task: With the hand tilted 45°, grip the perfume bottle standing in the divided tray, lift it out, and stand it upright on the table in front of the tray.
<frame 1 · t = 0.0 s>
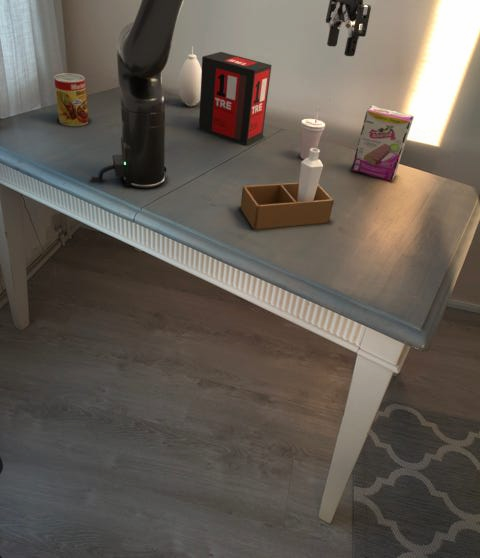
hand: (340, 50, 114), 29 cm above the table, tool pointing down, fingers open, 8 cm apart
canned food: (74, 121, 143), on the table
cleaning product box: (230, 133, 147), on the table
divided tray: (284, 215, 111), on the table
sauce bottle: (190, 106, 163), on the table
perfume bottle: (301, 214, 112), resting in divided tray
smoothie: (306, 157, 138), on the table
candy bar box: (373, 174, 134), on the table
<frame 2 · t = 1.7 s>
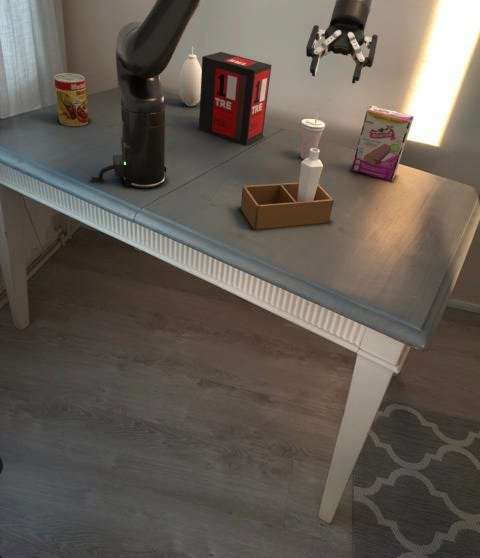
hand: (333, 77, 105), 27 cm above the table, tool tilted 45°, fingers open, 8 cm apart
nothing on the table moved.
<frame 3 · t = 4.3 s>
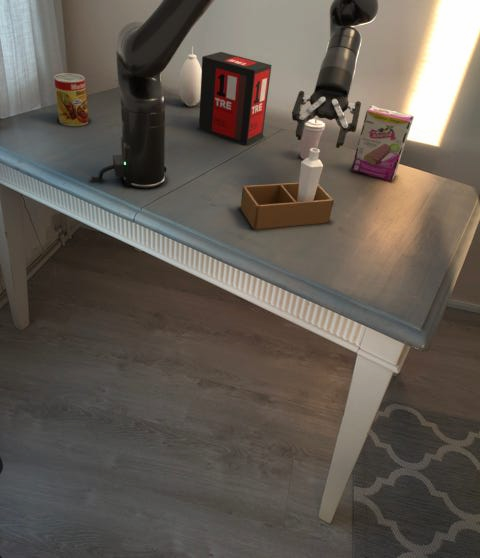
hand: (318, 142, 109), 14 cm above the table, tool tilted 45°, fingers open, 8 cm apart
nothing on the table moved.
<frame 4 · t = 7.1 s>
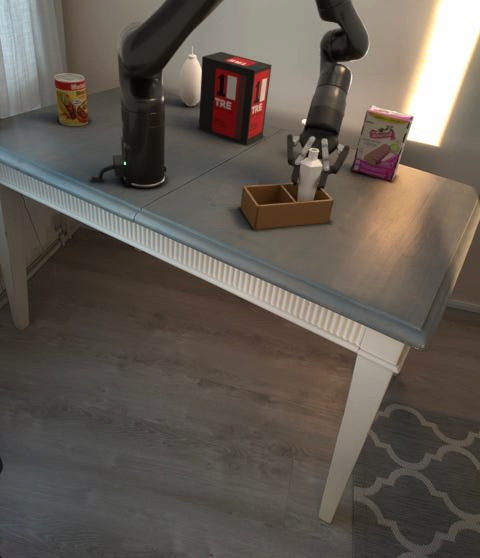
hand: (307, 186, 106), 8 cm above the table, tool tilted 45°, fingers closed on perfume bottle, 4 cm apart
perfume bottle: (301, 214, 112), resting in divided tray, touching gripper
everything else where it was.
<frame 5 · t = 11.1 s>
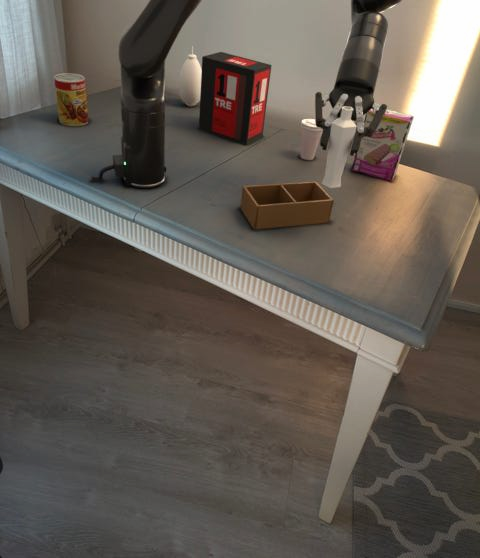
hand: (338, 150, 94), 19 cm above the table, tool tilted 45°, fingers closed on perfume bottle, 4 cm apart
perfume bottle: (330, 184, 100), point 11 cm above the table, touching gripper
everything else where it was.
when the fingers open (8 cm above the table, at t = 15.1 s): perfume bottle stays where it is, on the table.
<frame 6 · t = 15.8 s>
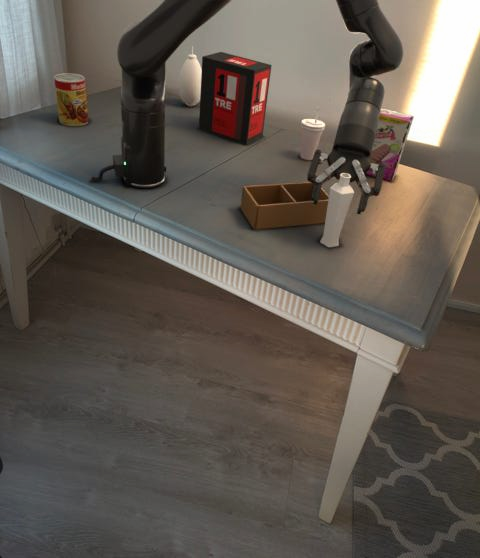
hand: (337, 208, 97), 9 cm above the table, tool tilted 45°, fingers open, 8 cm apart
perfume bottle: (328, 243, 104), on the table
everything else where it was.
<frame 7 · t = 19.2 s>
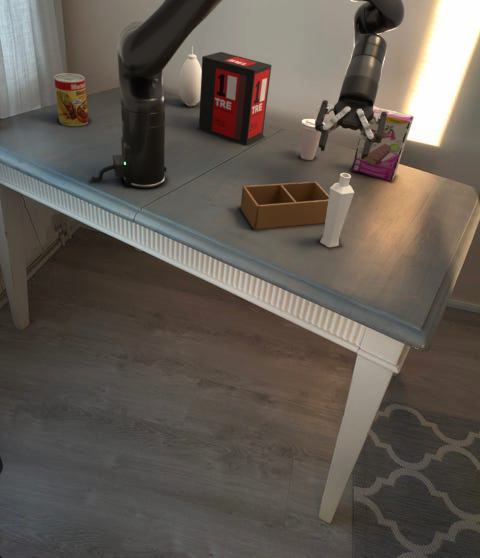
hand: (342, 153, 105), 14 cm above the table, tool tilted 45°, fingers open, 8 cm apart
nothing on the table moved.
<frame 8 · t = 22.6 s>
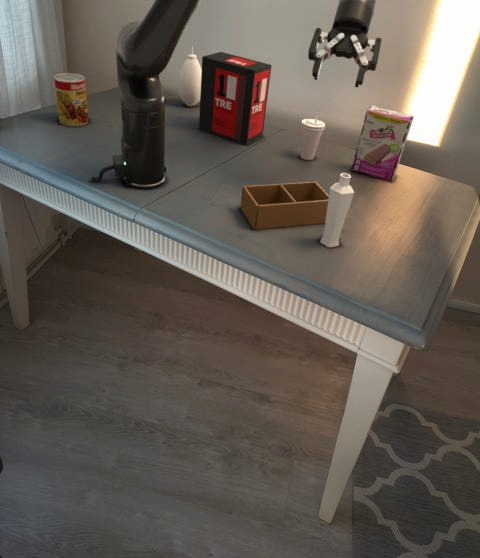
hand: (336, 81, 103), 27 cm above the table, tool tilted 45°, fingers open, 8 cm apart
nothing on the table moved.
at the end: perfume bottle inside the target area (0.5 cm from its centre), on the table; perfume bottle tilted 0°; the gripper is holding nothing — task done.
